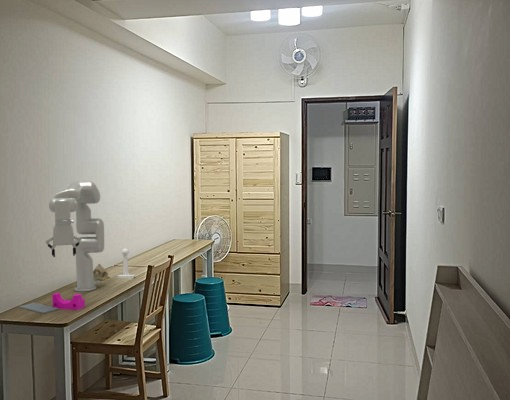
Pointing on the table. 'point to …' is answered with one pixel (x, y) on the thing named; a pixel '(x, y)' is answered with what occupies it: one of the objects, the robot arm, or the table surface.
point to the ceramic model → (99, 273)
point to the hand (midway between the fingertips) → (64, 256)
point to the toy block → (68, 302)
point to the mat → (39, 308)
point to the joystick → (125, 265)
